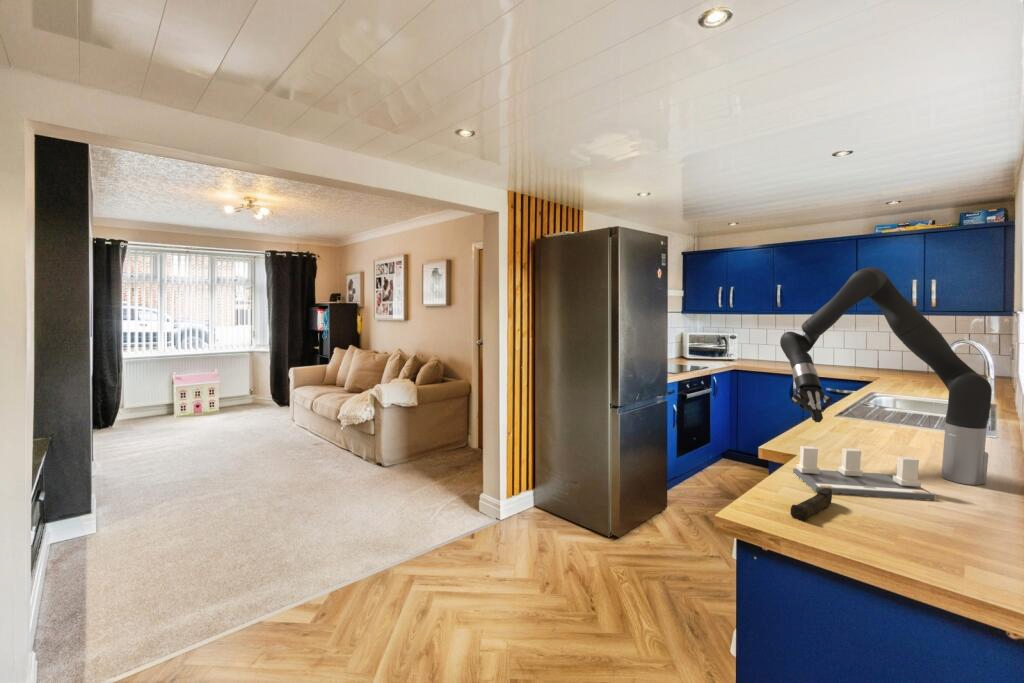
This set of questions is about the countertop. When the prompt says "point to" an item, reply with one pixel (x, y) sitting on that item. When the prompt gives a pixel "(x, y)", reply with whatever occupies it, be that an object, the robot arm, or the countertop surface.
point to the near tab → (907, 472)
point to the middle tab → (850, 462)
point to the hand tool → (812, 505)
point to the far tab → (808, 460)
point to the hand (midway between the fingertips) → (818, 421)
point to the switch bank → (862, 484)
